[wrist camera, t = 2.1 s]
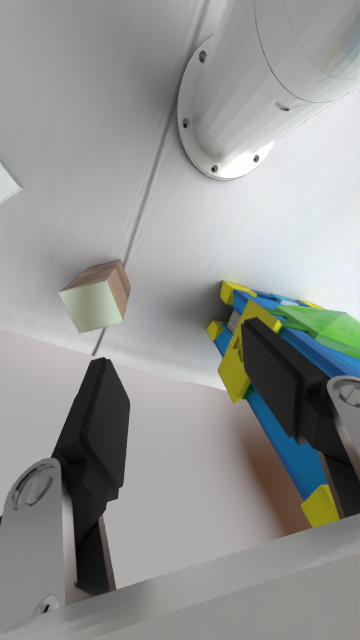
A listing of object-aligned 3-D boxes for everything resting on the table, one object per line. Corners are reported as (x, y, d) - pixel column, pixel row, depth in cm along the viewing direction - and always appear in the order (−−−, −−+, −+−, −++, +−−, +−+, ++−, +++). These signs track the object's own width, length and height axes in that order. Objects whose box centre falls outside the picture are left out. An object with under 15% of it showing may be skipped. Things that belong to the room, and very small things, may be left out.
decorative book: (221, 265, 32) (607, 484, 5) (331, 296, 38) (777, 474, 11) (194, 340, 37) (315, 633, 11) (293, 357, 43) (531, 574, 17)
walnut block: (120, 259, 29) (105, 280, 19) (130, 288, 31) (122, 322, 21) (90, 266, 29) (58, 293, 18) (102, 295, 31) (79, 333, 20)
